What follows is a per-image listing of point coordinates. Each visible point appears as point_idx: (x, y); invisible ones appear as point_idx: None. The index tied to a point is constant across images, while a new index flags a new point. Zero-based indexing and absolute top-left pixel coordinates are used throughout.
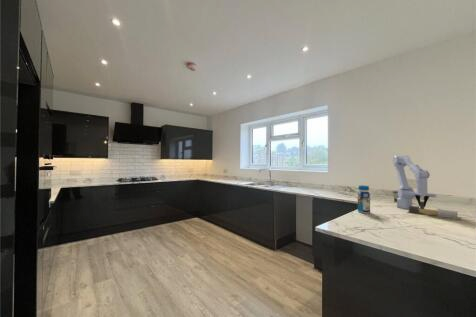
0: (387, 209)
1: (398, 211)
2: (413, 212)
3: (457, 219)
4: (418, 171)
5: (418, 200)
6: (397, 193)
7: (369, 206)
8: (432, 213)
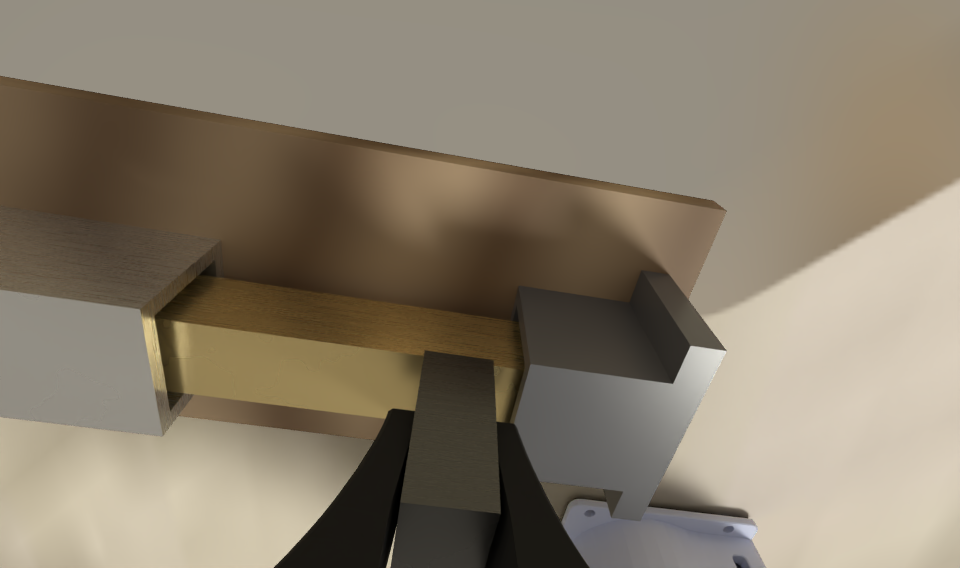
0: (928, 418)
1: (789, 367)
2: (596, 300)
3: None
4: None
5: (547, 555)
6: None
7: None
8: (292, 296)
